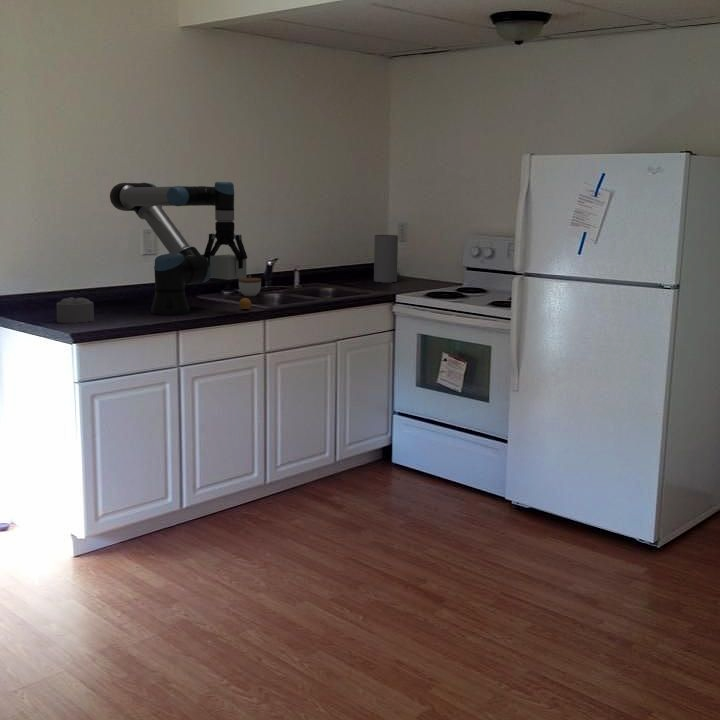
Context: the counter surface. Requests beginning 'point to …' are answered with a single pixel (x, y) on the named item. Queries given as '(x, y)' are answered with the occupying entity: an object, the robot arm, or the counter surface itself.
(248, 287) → the lidded jar
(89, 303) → the lumpy-topped squat cylinder
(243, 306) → the ball
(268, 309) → the counter surface
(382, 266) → the cylinder vase
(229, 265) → the wide gray carton
